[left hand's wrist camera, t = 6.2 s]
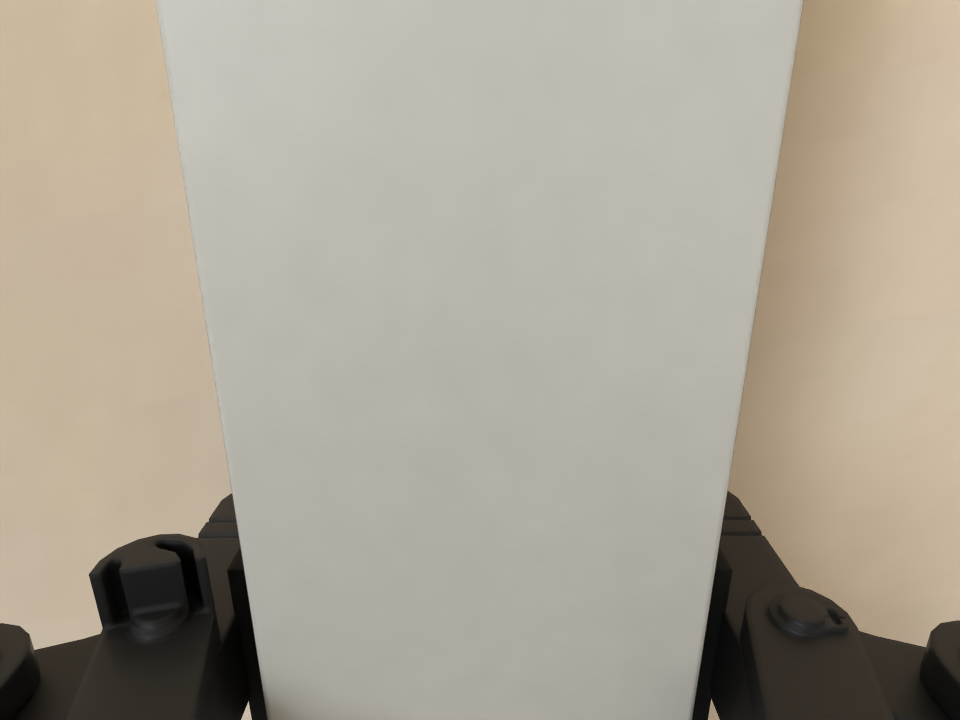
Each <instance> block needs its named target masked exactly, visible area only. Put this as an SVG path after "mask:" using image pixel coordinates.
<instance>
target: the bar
mask: <svg viewBox="0 0 960 720" xmlns="http://www.w3.org/2000/svg"><path fill="white" fill-rule="evenodd" d="M803 1H804V0H156V6H157V13H158V19H159V26H160V32H161V39H162V45H163V51H164V58H165V64H166V71H167V77H168V83H169V90H170V96H171V103H172V109H173V116H174V122H175V128H176V135H177V141H178V148H179V154H180V160H181V167H182V173H183V180H184V186H185V193H186V199H187V205H188V212H189V218H190V225H191V231H192V238H193V244H194V250H195V257H196V263H197V270H198V276H199V282H200V289H201V295H202V302H203V308H204V315H205V321H206V327H207V334H208V340H209V347H210V353H211V359H212V366H213V372H214V379H215V385H216V392H217V398H218V404H219V411H220V417H221V424H222V430H223V437H224V443H225V449H226V456H227V462H228V469H229V475H230V481H231V488H232V494H233V501H234V507H235V514H236V520H237V526H238V533H239V539H240V546H241V552H242V558H243V565H244V571H245V578H246V584H247V591H248V597H249V603H250V610H251V616H252V623H253V629H254V636H255V642H256V648H257V655H258V661H259V668H260V674H261V680H262V687H263V693H264V700H265V706H266V713H267V719H268V720H692V715H693V709H694V702H695V696H696V690H697V683H698V677H699V670H700V664H701V657H702V651H703V645H704V638H705V632H706V625H707V619H708V612H709V606H710V599H711V593H712V587H713V580H714V574H715V567H716V561H717V554H718V548H719V542H720V535H721V529H722V522H723V516H724V509H725V503H726V497H727V490H728V484H729V477H730V471H731V464H732V458H733V451H734V445H735V439H736V432H737V426H738V419H739V413H740V406H741V400H742V394H743V387H744V381H745V374H746V368H747V361H748V355H749V348H750V342H751V336H752V329H753V323H754V316H755V310H756V303H757V297H758V291H759V284H760V278H761V271H762V265H763V258H764V252H765V245H766V239H767V233H768V226H769V220H770V213H771V207H772V200H773V194H774V188H775V181H776V175H777V168H778V162H779V155H780V149H781V143H782V136H783V130H784V123H785V117H786V110H787V104H788V97H789V91H790V85H791V78H792V72H793V65H794V59H795V52H796V46H797V40H798V33H799V27H800V20H801V14H802V7H803Z"/></svg>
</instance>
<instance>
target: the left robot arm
mask: <svg viewBox="0 0 960 720" xmlns="http://www.w3.org/2000/svg"><path fill="white" fill-rule="evenodd" d="M89 577H90V581H91V585H92V588H93V592H94V596H95V600H96V604H97V608H98V612H99V615H100V619H101V623H102V627H103V629H102V632H101V634H99V635H95V636H92V637H88V638H85V639H81V640H77V641H72V642H68V643H64V644H59V645H55V646H50V647H46V648H42V649H37V650H34V648H33V645H32V642H31V638H30V635H29V634H28V633H27V632H26V631H25V630H24V629H22V628H21V627H20V626H16V625H10V624H3V623H1V624H0V720H241V718H242V716H243V713H244V711H245V708H246V706H247V703H248V701H249V705H250V711H251V717H252V720H268V719H267V713H266V706H265V700H264V693H263V687H262V680H261V674H260V668H259V661H258V655H257V648H256V642H255V636H254V629H253V623H252V616H251V610H250V603H249V597H248V591H247V584H246V578H245V571H244V565H243V558H242V552H241V546H240V539H239V533H238V526H237V520H236V514H235V507H234V501H233V494H232V493H231V494H230V495H229V496H227V497H226V498H224V499H223V500H222V501H221V502H220V504H219V505H218V507H217V508H216V509H215V511H214V512H213V514H212V515H211V517H210V518H209V522H207V523H206V524H205V525H204V527H203V528H202V530H201V531H200V533H199V537H198V538H193V537H189V536H186V535H182V534H161V535H155V536H151V537H147V538H143V539H138V540H136V541H134V542H131V543H129V544H127V545H124V546H122V547H120V548H117V549H116V550H114V551H113V552H112V553H110V554H109V555H107V556H106V557H104V558H103V559H102V560H100V561H99V562H98V564H97V565H96V566H95V567H94V569H93V570H92V571H91V572H90V574H89ZM711 699H712V701H713V704H714V706H715V709H716V711H717V713H718V716H719V718H720V720H960V621H952V622H946V623H940V624H939V625H938V626H937V627H936V628H935V629H934V630H932V631H931V633H930V637H929V640H928V643H927V646H926V647H922V646H917V645H913V644H908V643H904V642H900V641H895V640H891V639H886V638H882V637H877V636H874V635H870V634H867V633H864V632H860V631H858V628H857V626H856V625H855V624H854V622H853V621H852V619H851V618H850V616H849V615H848V613H847V612H845V611H844V610H843V609H842V608H840V607H839V606H838V605H837V604H835V603H834V602H833V601H832V600H830V599H828V598H826V597H824V596H822V595H820V594H818V593H816V592H814V591H812V590H809V589H805V588H802V587H799V586H798V584H797V583H796V581H795V580H794V578H793V577H792V575H791V574H790V573H789V571H788V570H787V568H786V567H785V565H784V564H783V562H782V561H781V560H780V558H779V557H778V555H777V554H776V552H775V551H774V549H773V548H772V547H771V545H770V544H769V542H768V541H767V539H766V538H765V536H762V535H761V531H760V529H759V528H758V526H757V525H756V523H755V522H754V520H751V516H750V515H749V513H748V512H747V510H746V509H745V507H744V506H743V505H742V503H741V502H740V500H739V499H738V498H737V497H736V496H734V495H733V494H731V493H730V492H729V491H727V497H726V503H725V509H724V516H723V522H722V529H721V535H720V542H719V548H718V554H717V561H716V567H715V574H714V580H713V587H712V593H711V599H710V606H709V612H708V619H707V625H706V632H705V638H704V645H703V651H702V657H701V664H700V670H699V677H698V683H697V690H696V696H695V702H694V709H693V715H692V720H708V714H709V708H710V702H711Z"/></svg>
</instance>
